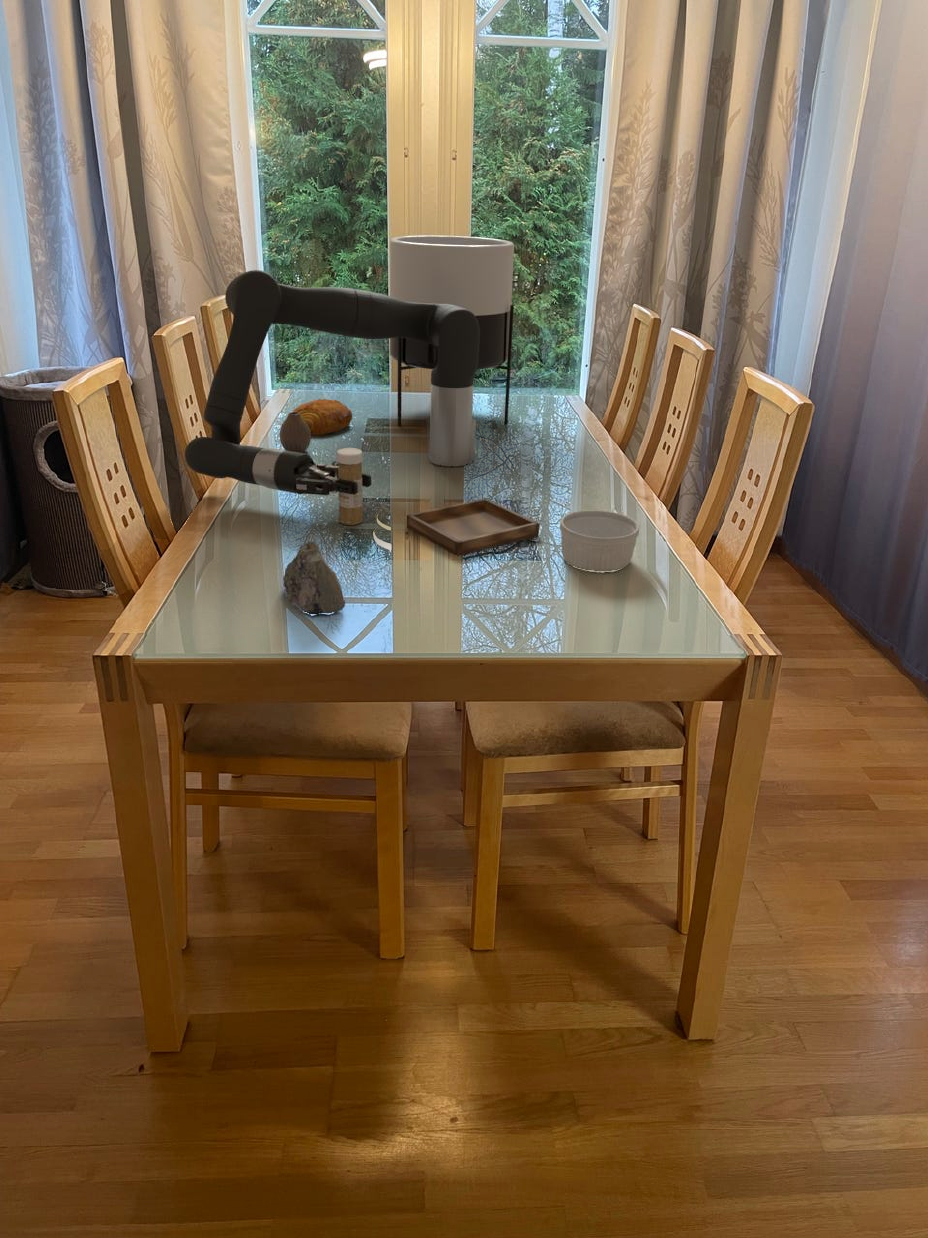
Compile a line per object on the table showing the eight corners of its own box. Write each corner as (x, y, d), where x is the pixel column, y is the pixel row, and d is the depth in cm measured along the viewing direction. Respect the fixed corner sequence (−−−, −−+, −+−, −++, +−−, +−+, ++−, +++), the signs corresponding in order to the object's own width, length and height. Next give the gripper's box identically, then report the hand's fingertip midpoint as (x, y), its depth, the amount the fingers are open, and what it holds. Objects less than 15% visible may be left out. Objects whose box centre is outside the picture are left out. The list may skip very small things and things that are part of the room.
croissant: (361, 435, 232) (364, 403, 230) (320, 439, 220) (323, 405, 217) (318, 424, 239) (320, 392, 236) (276, 427, 226) (278, 394, 224)
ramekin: (615, 583, 149) (620, 543, 146) (543, 564, 155) (546, 525, 152) (646, 558, 160) (651, 520, 156) (577, 541, 166) (581, 504, 163)
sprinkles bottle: (333, 521, 170) (331, 450, 164) (351, 515, 174) (350, 445, 167) (350, 527, 168) (349, 455, 162) (368, 521, 171) (367, 450, 165)
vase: (305, 456, 206) (303, 417, 203) (275, 454, 208) (273, 415, 204) (315, 448, 213) (314, 410, 209) (287, 445, 214) (285, 408, 210)
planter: (529, 416, 246) (540, 241, 226) (463, 440, 222) (469, 248, 203) (435, 398, 261) (438, 233, 242) (364, 419, 238) (361, 238, 219)
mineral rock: (289, 580, 146) (285, 521, 142) (356, 584, 146) (355, 524, 141) (269, 616, 135) (264, 552, 130) (342, 620, 134) (340, 556, 130)
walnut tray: (484, 510, 178) (485, 498, 177) (538, 536, 167) (539, 523, 166) (406, 527, 169) (406, 514, 168) (457, 556, 157) (458, 542, 156)
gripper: (259, 460, 165) (342, 475, 159) (303, 441, 177) (382, 454, 171) (262, 500, 168) (344, 516, 162) (305, 479, 180) (382, 493, 174)
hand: (363, 484), depth 166 cm, fingers closed on sprinkles bottle, 4 cm apart
